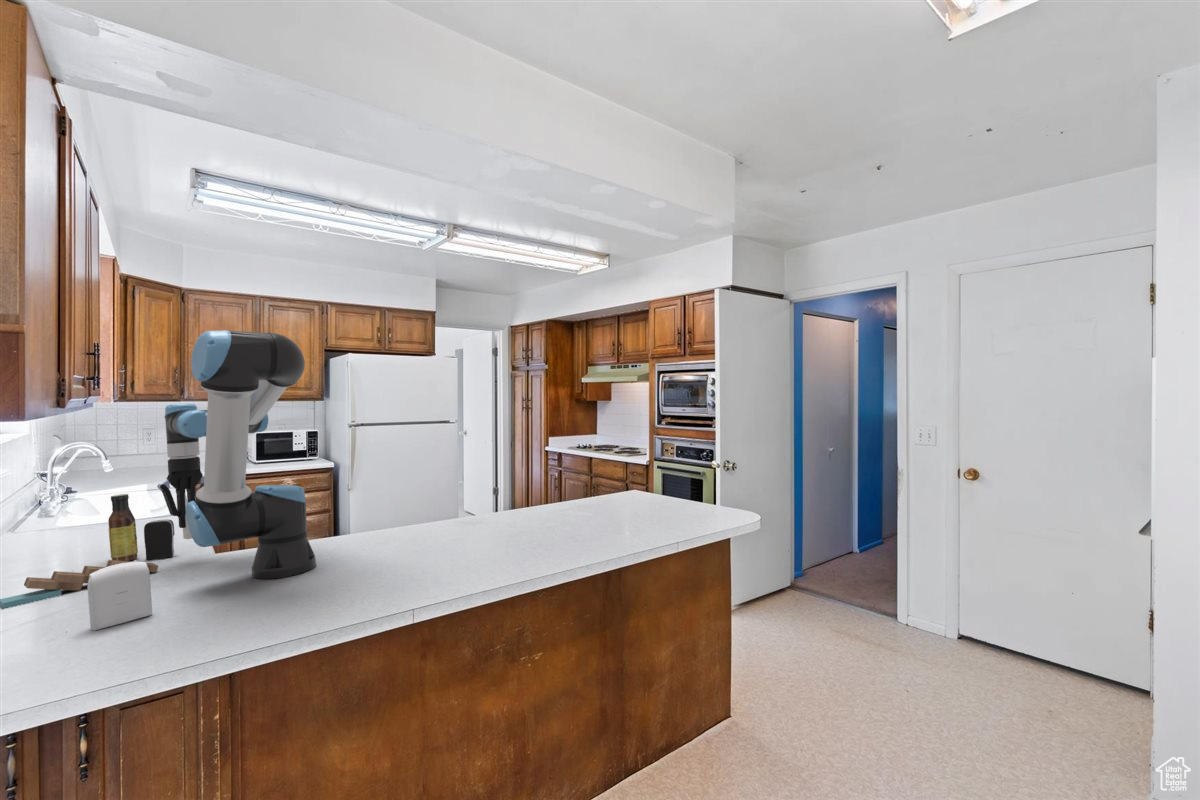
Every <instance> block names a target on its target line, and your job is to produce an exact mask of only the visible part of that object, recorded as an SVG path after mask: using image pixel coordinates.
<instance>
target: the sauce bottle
mask: <svg viewBox="0 0 1200 800" xmlns="http://www.w3.org/2000/svg"><path fill="white" fill-rule="evenodd" d="M110 501H111V507H112V509H111V510H112V512H111V514H110V516H109V517H108V519H107V520H108V536H109V539H108V540H109V551H110V552H109V553H110V558H111V560H115V561H130V562H132V561H134V560H136V559H137V558H138V553H139V551H138V536H137V535H138V534H137V523H136V519H135V517H134V514H133V513H132V511H131V509H130V506H129V505H130V504H129V493H120V494H114V495H111V496H110ZM131 560H132V561H131Z"/></svg>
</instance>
